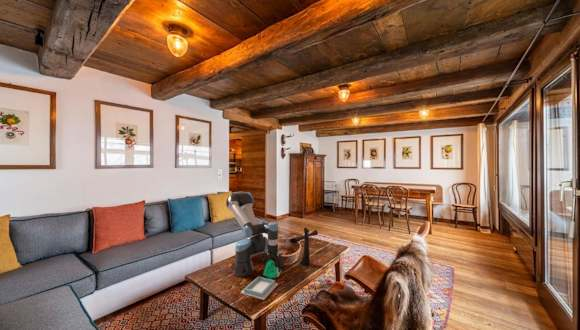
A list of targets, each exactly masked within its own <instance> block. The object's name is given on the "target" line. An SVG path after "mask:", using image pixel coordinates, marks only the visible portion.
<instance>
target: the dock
mask: <svg viewBox="0 0 580 330" xmlns="http://www.w3.org/2000/svg"><path fill="white" fill-rule="evenodd" d="M278 285H279V283H277V282H276V280H275V279H273V278H269V277H262V276H259V275H258V276H257V277H256V278H255V279H253V281H251V282H250V283H249V284H248V285H247V286H246V287H244V288H243V289H242V290H241V291H240V294H241V295H245V296H249V297H252V298H256V299H258V300H262V301H265V300H266V298H267V297H269V296H270V294H271V293H272V292H273V291H274V290H275V289H276V287H277V286H278Z"/></svg>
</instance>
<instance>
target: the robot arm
mask: <svg viewBox="0 0 580 330" xmlns="http://www.w3.org/2000/svg"><path fill="white" fill-rule="evenodd" d="M225 201H226V202H225V204H226V205H225V206H226V208H227V210H228V211H229V212H231V213H232V215H233V216H234V218H235V219H236V221H237V223H239V226H240V227H241V235H242V236H243V237H244V239H240V240H238V241H237V242H236V243H235V249H234V250H235V264H234V267H233V270H232V271H233V272H232V273H233V275H235V276H236V277H248V276H250V275H252V274H253V273H254V266H253V261H252V257H253V256H256V255H261V254H263V253H264V254H263V258H262V264H264V268H265V267H266V264H267V262H268V260H271V258H273V259H274V260H275V262H276V265H277V267H276V268H277V277H276V278H279V276H280V275H281V273H280V271H281V272H282V268H283V267H284V261H283V253H282V252H279V225H278V222H274V221H270V222H266V221H260V222H257V219H256V216H255V214H254V210H253V204H254V202H255V201H254V196H253V194H252V193H251V192H249V191H248V192H246V191H245V192H236V193H231V194H230V195H228V197H227V199H226V200H225ZM264 234H266V235H267V236H264Z"/></svg>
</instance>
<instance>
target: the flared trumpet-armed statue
mask: <svg viewBox="0 0 580 330" xmlns="http://www.w3.org/2000/svg"><path fill="white" fill-rule="evenodd" d="M303 232H304V235H302V236H297V237H291V238H290V239H289V242H290V243H291V244H297V243H298V242H300V241H302V240H303V242H304V243H303V254H302V258H301V259H300V261H299V264H300V265H301V266H303V267H309V266H310V265H311V263H310V243H309V242H310V241H309V240H310V237H312V236H313V237H314V236H318V235H319V232H318V230H317V229H315V230H313V231H311V232H310V229H308V228H307V227H304V228H303Z"/></svg>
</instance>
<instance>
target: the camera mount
mask: <svg viewBox="0 0 580 330" xmlns="http://www.w3.org/2000/svg"><path fill="white" fill-rule="evenodd" d="M262 273H263V276H265V278H268V279H276V278H278V277H277V267H276V265H275V261H274V260H272V259H269V260H268V262H267V264H266V267H265V266H264V270H263V272H262ZM280 274H282V270H281V271H280Z"/></svg>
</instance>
